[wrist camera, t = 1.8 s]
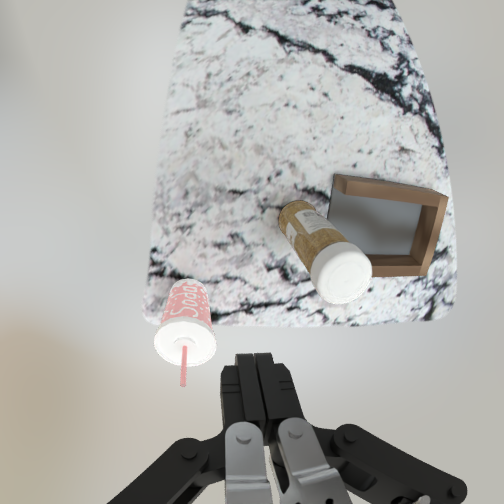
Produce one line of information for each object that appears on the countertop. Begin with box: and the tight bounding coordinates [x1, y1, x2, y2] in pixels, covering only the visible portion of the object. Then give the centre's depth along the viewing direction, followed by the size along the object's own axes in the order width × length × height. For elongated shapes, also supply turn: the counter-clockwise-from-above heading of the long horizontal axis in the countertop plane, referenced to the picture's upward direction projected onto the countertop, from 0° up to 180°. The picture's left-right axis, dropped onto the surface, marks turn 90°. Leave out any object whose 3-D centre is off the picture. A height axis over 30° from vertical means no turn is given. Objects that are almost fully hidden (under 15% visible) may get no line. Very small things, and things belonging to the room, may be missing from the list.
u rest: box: [327, 174, 449, 277], centre depth 33 cm, size 11×15×4 cm
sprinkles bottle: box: [279, 201, 372, 304], centre depth 27 cm, size 5×5×14 cm
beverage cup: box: [154, 278, 217, 387], centre depth 29 cm, size 6×6×14 cm
